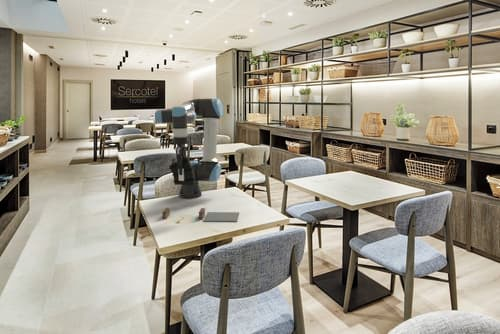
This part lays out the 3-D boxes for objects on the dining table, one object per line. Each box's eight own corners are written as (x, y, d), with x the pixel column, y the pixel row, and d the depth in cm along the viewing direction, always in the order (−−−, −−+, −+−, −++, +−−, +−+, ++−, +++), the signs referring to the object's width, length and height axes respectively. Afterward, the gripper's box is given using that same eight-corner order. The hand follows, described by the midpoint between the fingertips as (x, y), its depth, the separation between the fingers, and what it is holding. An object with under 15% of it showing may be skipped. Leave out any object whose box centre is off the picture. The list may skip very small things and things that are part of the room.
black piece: (199, 182, 186) (186, 157, 184) (178, 192, 188) (165, 167, 186) (201, 180, 190) (188, 156, 188) (180, 190, 192) (167, 166, 190)
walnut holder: (162, 218, 190) (162, 211, 189) (166, 214, 196) (166, 207, 196) (202, 219, 188) (202, 212, 188) (205, 215, 195) (204, 208, 195)
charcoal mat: (207, 213, 199) (207, 212, 199) (239, 213, 198) (239, 212, 198) (203, 221, 185) (203, 220, 185) (237, 221, 184) (237, 220, 184)
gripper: (177, 134, 192) (179, 175, 197) (169, 138, 176) (171, 183, 180) (191, 134, 192) (192, 176, 197) (183, 138, 175) (185, 183, 180)
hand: (182, 179), depth 188 cm, fingers closed on black piece, 4 cm apart
